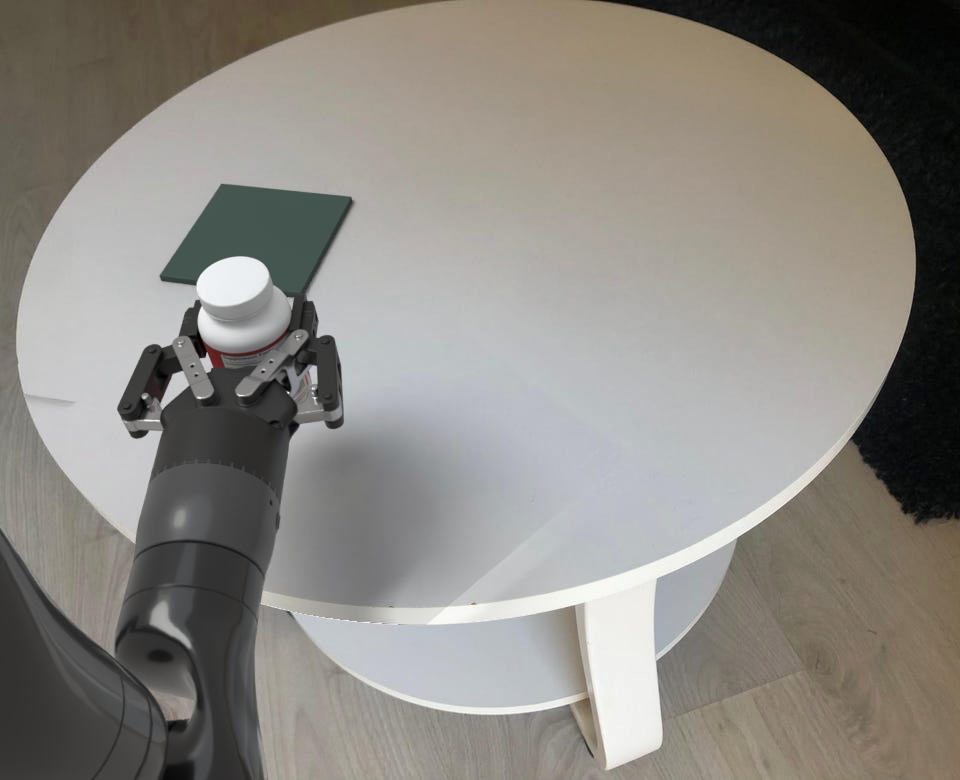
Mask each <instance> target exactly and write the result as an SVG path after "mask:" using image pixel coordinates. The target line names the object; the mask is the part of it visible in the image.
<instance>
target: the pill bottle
mask: <svg viewBox="0 0 960 780" xmlns="http://www.w3.org/2000/svg"><path fill="white" fill-rule="evenodd" d="M195 289H196V294H197V296H198V300H200V302H201V305H202V307H201V309H200V312H199V315H198V328H199V332H200V335H201V338H202V340H203V343H204V345H205V348H206V350H207V356H208V358H209V360H210V363H211V366H212V368H219V367H225V368H231V369H237V368H241V367H245V366H256V365H259V364H260V362H261V361H262V360H263V359H264V358H265V357H266V355H267V354H268V353H269V352H270V351H271V350H272V349H276V350H278V349H279V347H280V346H281V345H282V344H283V343H284V341H285V340H286V339H287V338H288V337H289V336H290V333H289V325H290V319H291V313H292V307H291V304H290V301H289V298H288V296H285V294H284V293H283V292H282V291H281V290H280V289H279V288H277V287H276V286H274V285H273V283H272V280H271V277H270V274H269V271H268V269H267V267H266V266H265V265H264V264H263V263H262V262H260V261H258V260H256V259H254V258H250V257H242V256H239V257H230V258H226V259H223V260H220V261H218V262H216V263H214V264H212V265H211V266H209V267H208V268H207V269H206V270H204V271H203V273H202V274H201V275H200V277H199V279H198V281H197V285H196V288H195ZM312 384H313V383H312V377H311V373H310V370H309V371H308V372H307V373H306V375H305V376H304V377H303V378H302V380H301V381H300V387H299V390H298V392H297V393H296V394H295V395H294V397H293V400H294V401H295V402H296V404H298V403H301V402H303V401H304V400H305V399H306V397H307V393H308V392H309V390H311V388H310V387H311V385H312Z"/></svg>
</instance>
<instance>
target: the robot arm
mask: <svg viewBox="0 0 960 780" xmlns="http://www.w3.org/2000/svg"><path fill="white" fill-rule="evenodd" d="M201 307H202V305H201V302H200V300H199V299H195V300H194V304H193V307H192V306H191V307H187V309H186V310H185V312H184V315H183V318H182V320H181V321H182V322H181V324H180V330H179V331H178V336H177V337H176V338H174V339H173V340H172V342H171V343H170V344H169V345H167V346H166V345H165V346H163V347H162V346H161V345H160V344H157V343H151V344H149V345H147V346H146V347H144V348H143V350H142V352H141V354H140V356H139V359H138V361H137V363H136V365H135V368H134V370H133V373H132V374H131V376H130V379H129V380H128V383H127V385H126V387H125V389H124V391H123V394H122V396H121V398H120V400H119V403H118V405H117V407H116V410H117V413H118V414H119V416H120V419H121V422H122V424H123V425H124V427H125V429H126V430H127V432H128V434H129V436H130V438H132V439H136V440H139V439H143V438H144V437H146V436H147V435H148V434H149V432H151V431H154V432H161V433H160V439H159V442H158V446H157V450H156V454H155V458H154V460H153V465H152V469H151V473H150V476H149V480H148V484H147V487H146V492H145V496H144V499H143V503H142V506H141V511H140V515H139V518H138V522H137V528H136V533H135V543H134V555H133V559H132V566H131V568H130V573H129V577H128V580H127V583H126V588H125V592H124V596H123V600H122V604H121V608H120V612H119V615H118V619H117V624H116V629H115V632H114V633H115V634H114V639H113V646H112V647H113V648H112V650H113V651H112V652H113V656H112V655H111V654H110V653H109V652H108V651H107V650H106V649H104V648H103V647H102V646H101V645H99V644H98V643H97V642H96V641H95V640H94V639H92V637H90V636H89V635H88V634H87V633H85V632H84V630H82V629H80V628H79V626H78V625H77V624H76V623H75V622H74V621H72V620H71V618H69V617H68V616H67V614H66V613H65V612H64V611H63V609H62V608H61V607H60V606H59V605H58V604H57V602H56V601H55V600H54V599H53V598H52V597H51V595H50V594H49V593H48V591H47V590H46V589H45V587H44V586H43V585H42V584H41V582H40V580H39V579H38V578H37V576H36V574H35V573H34V572H33V571H32V569H31V568H30V566H29V564H28V563H27V561H26V560H25V558H24V557H23V555H22V553H21V552H20V550H19V549H18V547H17V546H16V544H15V543H14V541H13V540H12V538H11V537H10V535H9V534H8V532H7V531H6V529H5V528H4V526H3V525H2V523H1V522H0V780H269V771H268V767H267V761H266V755H265V754H266V753H265V749H264V743H263V737H262V732H261V725H260V718H259V717H260V716H259V709H258V698H257V685H256V664H255V663H256V662H255V661H256V660H255V656H256V654H255V653H256V652H255V651H256V641H257V640H256V639H257V635H258V634H257V633H258V624H259V618H260V612H261V604H262V599H263V591H264V585H265V581H266V576H267V573H268V569H269V567H270V564H271V560H272V557H273V552H274V550H275V546H276V545H275V544H276V538H277V534H278V531H279V530H280V525H281V514H280V511H281V506H282V505H281V504H282V500H283V499H282V498H283V497H282V496H283V492H284V491H283V490H284V485H285V478H286V471H287V464H288V459H289V450H290V442H291V439H292V437H293V436H294V435H295V434H296V432H297V431H298V430H299V428H300V426H301V425H305V424H310V423H311V424H312V423H318V422H324V425H325V427H326V428H327V429H329V430H336V429H339V428H341V427H342V426H343V425H344V423H345V411H344V392H343V374H342V373H343V372H342V371H343V370H342V363H341V359H340V355H339V350H338V347H337V342H336V339H335V337H334V336H333V335H331V334H323V335H321V336H319V337H317V336H318V330H319V317H318V312H317V309H316V305H315V303H314V301H313V300H309V299H308V297H307V294H306V293H304V294H295V295H294V297H293V300H292V307H291V309H292V313H291V319H290V325H289V333H290V336H289V337H288V338H287V339H286V340H285V341H284V343H283V344H282V345H281V346H280V347H279V349H278V350H276V349H272V350H271V351H270V352H269V353H268V354H267V355H266V357H265V358H264V359H263V360H262V361H261V362H260V364H259V365H256V366H245V367H241V368H237V369H231V368H225V367H219V368H213V367H211V368H210V371H208V372H207V371H206V369H205V367H204V365H203V363H202V360H201V359H206V358H207V355H208V353H207V350H206V348H205V345H204V343H203V340H202V338H201V335H200V332H199V328H198V315H199V312H200V309H201ZM313 366H315V367H316V382H317V383H312V385H311V387H310V388H311V390H309V392H308V393H307V397H306V399H305V400H304V401H303V402H301V403H298V404H296V402H295V401H294V400H293V397H294V395H295V394H296V393H297V392H298V390H299V387H300V381H301V380H302V378H303V377H304V376H305V375H306V373H307V372H308V371H309V372H310V370H311V368H312V367H313ZM181 372H183V374H184V376H185V379H186V381H187V384H188V386H186V388H185V389H183V390H182V391H181V392H180V393H179V394H178V395H176V396H175V397H174V398H173V399H172V400H171V401H170V402H168V403H167V404H166V405H165V406H164V407H162V406H161V403H162V402H163V399H164V396H165V394H166V392H167V389H168V387H169V385H170V382H171V380H172V377H173V375H175V374H178V373H181ZM151 691H153V692H156V693H160V694H163V695H169V696H175V697H179V698H185V699H189V700H193V701H194V702H193V709H192V712H191V715H190V718H189V717H188V718H184V719H182V718H179V719H178V718H177V719H166V716H165V713H164V711H163V708H162V707H161V705H160V703H159V702H158V701H157V699H156V697H155V696H154V694H153V693H152V692H151Z"/></svg>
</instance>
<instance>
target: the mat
mask: <svg viewBox="0 0 960 780" xmlns="http://www.w3.org/2000/svg"><path fill="white" fill-rule="evenodd" d="M352 203H353V197H352V196H351V195H350V196H349V195H340V194H339V195H338V194H328V193H321V192H320V193H318V192H309V191H299V190H290V189H279V188H269V187H258V186H251V185H241V184H231V183H229V184H228V183H220V184H219V187H218V188H217V189H216V191H215V192H214V194H213V196H212V197H211V198H210V200H209V201H208V203H207V204H206V206H205V207H204V208H203V210H202V212H201V213H200V214H199V216H198V218H197V219H196V220H195V222H194V223H193V225H192V226H191V228H190V230H189V231H188V232H187V234H186V235H185V237H184V238H183V240H182V241H181V243H180V244H179V245H178V247H177V249H176V250H175V252H174V253H173V254H172V256H171V257H170V259H169V260H168V262H167V264H166V265H165V267H164V268H163V269H162V271H161V272H160V274H159V279H160V281H162V282H168V283H169V282H170V283H177V284H185V285H193V286H194V285H195V286H197V281H198V279H199V277H200V275H201V274H202V273H203V271H204V270H206V269H207V268H208V267H209V266H211V265H212V264H214V263H216V262H218V261H220V260H223V259H226V258H230V257H239V256H242V257H250V258H254V259H256V260H258V261H260V262H262V263H263V264H264V265H265V266H266V267H267V269H268V271H269V274H270V277H271V280H272V283H273V285H274V286H276V287H277V288H279V289H280V290H281V291H282V292H283V293H284V294H285V296H286V297H287V298H288V297H289V298H294V295H295V294H305V292H306V290H307V289H308V287H309V284H310V283H311V281H312V279H313V277H314V276H315V273H316V272H317V270H318V268H319V265H320V264H321V262H322V260H323V259H324V256H325V254H326V253H327V250H328V249H329V247H330V245H331V243H332V241H333V239H334V237H335V235H336V234H337V232H338V229H339V228H340V226H341V225H342V222H343V220H344V218H345V216H346V215H347V213H348V212H349V211H348V210H349V209H350V207H351V205H352Z"/></svg>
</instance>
